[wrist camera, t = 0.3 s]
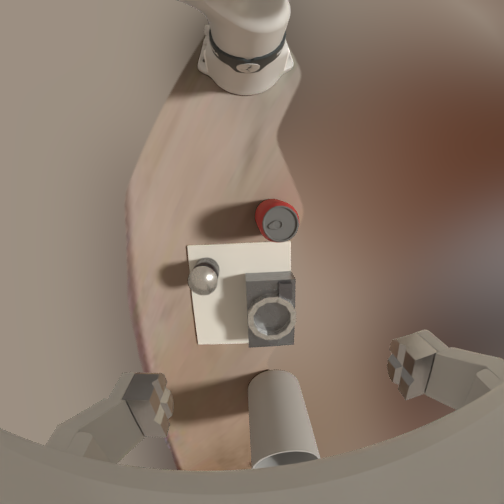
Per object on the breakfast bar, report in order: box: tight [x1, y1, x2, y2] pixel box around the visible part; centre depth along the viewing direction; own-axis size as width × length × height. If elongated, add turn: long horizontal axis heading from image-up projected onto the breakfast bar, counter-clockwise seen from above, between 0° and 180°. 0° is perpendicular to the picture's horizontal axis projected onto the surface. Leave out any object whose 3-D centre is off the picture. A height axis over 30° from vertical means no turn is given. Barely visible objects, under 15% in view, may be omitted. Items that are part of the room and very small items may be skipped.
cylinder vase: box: [248, 370, 320, 469], centre depth 51 cm, size 12×12×25 cm
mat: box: [187, 241, 291, 344], centre depth 57 cm, size 22×20×1 cm
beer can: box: [255, 199, 299, 243], centre depth 48 cm, size 7×7×12 cm
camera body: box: [245, 271, 296, 347], centre depth 54 cm, size 14×9×7 cm, turn 2°
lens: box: [188, 258, 220, 295], centre depth 52 cm, size 5×5×7 cm
